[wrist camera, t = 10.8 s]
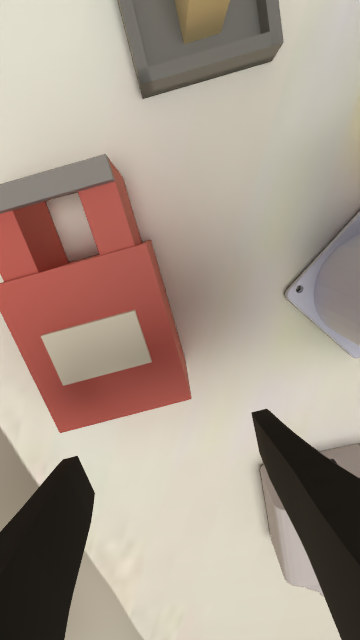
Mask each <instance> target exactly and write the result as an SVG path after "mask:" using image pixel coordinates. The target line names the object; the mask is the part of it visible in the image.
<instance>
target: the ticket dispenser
mask: <svg viewBox="0 0 360 640" xmlns="http://www.w3.org/2000/svg"><path fill="white" fill-rule="evenodd" d="M76 192H78V194H79V197H80V199H81V202H82V205H83V208H84V211H85V214H86V217H87V220H88V222H89V225H90V228H91V231H92V234H93V237H94V240H95V243H96V245H97V248H98V251H99V255H95V256H92V257H88V258H85V259H81V260H77V261H74V262H70V263H69V262H68V260H67V257H66V254H65V252H64V249H63V247H62V244H61V241H60V239H59V236H58V234H57V231H56V228H55V226H54V223H53V221H52V218H51V216H50V213H49V210H48V208H47V205H46V203H45V201H48V200H51V199H55V198H58V197H62V196H65V195H69V194H72V193H76ZM0 274H1V276H2V278H3V280H4V282H3V283H0V312H1V314H2V316H3V318H4V320H5V322H6V324H7V326H8V328H9V330H10V332H11V334H12V336H13V338H14V340H15V342H16V344H17V346H18V348H19V351H20V353H21V355H22V357H23V359H24V361H25V363H26V365H27V367H28V369H29V371H30V373H31V375H32V377H33V379H34V381H35V383H36V385H37V387H38V389H39V391H40V394H41V396H42V398H43V400H44V402H45V404H46V406H47V408H48V410H49V412H50V414H51V416H52V418H53V420H54V422H55V424H56V426H57V428H58V430H59V432H60V433H62V432H66V431H70V430H74V429H78V428H82V427H85V426H89V425H93V424H97V423H101V422H105V421H108V420H112V419H116V418H120V417H124V416H128V415H132V414H135V413H139V412H143V411H147V410H151V409H155V408H159V407H162V406H166V405H170V404H174V403H178V402H182V401H185V400H189V399H191V392H190V386H189V380H188V374H187V368H186V362H185V358H184V354H183V351H182V347H181V344H180V340H179V337H178V333H177V330H176V326H175V323H174V319H173V316H172V312H171V309H170V305H169V302H168V298H167V295H166V291H165V288H164V284H163V281H162V277H161V274H160V270H159V267H158V263H157V260H156V256H155V253H154V249H153V246H152V242H151V240H149V241H146V242H142V241H141V237H140V234H139V231H138V227H137V224H136V221H135V217H134V214H133V210H132V207H131V204H130V200H129V197H128V194H127V190H126V187H125V183H124V180H123V177H122V175H121V174H120V173H119V171H118V170H117V169H116V167H115V166H114V165H113V164H112V162H111V161H110V160H109V158H108V157H107V156H106V154H104V155H100V156H97V157H93V158H90V159H86V160H83V161H79V162H76V163H72V164H69V165H65V166H62V167H59V168H55V169H52V170H48V171H45V172H41V173H38V174H34V175H31V176H27V177H24V178H20V179H17V180H13V181H10V182H6V183H3V184H0Z"/></svg>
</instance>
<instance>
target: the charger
mask: <svg viewBox="0 0 360 640" xmlns="http://www.w3.org/2000/svg"><path fill="white" fill-rule="evenodd" d="M320 453H322V454H323V455H324V456H326V457H327V458H329V459H330V460H332V461H333V462H335V463H336V464H338V465H339V466H341V467H342V468H344V469H345V470H347V471H349V472H350V473H352V474H354V475H355V476H357V477H358V478H360V445H358V444H353V445H348V446H343V447H338V448H334V449H329V450H324V451H320ZM260 472H261V478H262V485H263V491H264V497H265V503H266V510H267V516H268V522H269V528H270V535H271V541H272V544H273V546H274V549H275V552H276V555H277V558H278V561H279V564H280V567H281V570H282V572H283V575H284V578H285V580H286V581H287V582H288V583H289V584H291V585H293V586H296V587H305V588H307V589H310V590H313V591H316V592H319V593H320V595H321V596H324V595H323V592H322V590H321V587H320V585H319V582H318V580H317V577H316V575H315V573H314V570H313V568H312V565H311V563H310V560H309V558H308V556H307V553H306V551H305V549H304V547H303V545H302V542H301V540H300V538H299V536H298V534H297V532H296V530H295V528H294V526H293V524H292V522H291V520H290V518H289V516H288V514H287V512H286V510H285V508H284V507H283V505H282V503H281V501H280V499H279V497H278V495H277V493H276V491H275V489H274V487H273V485H272V483H271V480H270V478H269V476H268V473H267V471H266V468H265V466H264V464H263V465H262V466H261V468H260Z"/></svg>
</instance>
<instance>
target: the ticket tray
mask: <svg viewBox="0 0 360 640" xmlns="http://www.w3.org/2000/svg"><path fill="white" fill-rule="evenodd" d="M118 4H119V8H120V12H121V16H122V20H123V24H124V27H125V31H126V35H127V39H128V43H129V47H130V51H131V55H132V59H133V63H134V67H135V71H136V74H137V78H138V82H139V86H140V90H141V94H142V98H143V99H144V98H147V97H150V96H154V95H157V94H161V93H164V92H168V91H171V90H174V89H178V88H181V87H185V86H188V85H191V84H195V83H198V82H202V81H205V80H209V79H212V78H215V77H219V76H222V75H226V74H229V73H232V72H236V71H239V70H243V69H246V68H250V67H253V66H256V65H260V64H263V63H267V62H270V61H272V60H273V58H274V57H275V55H276V54H277V52H278V50H279V49H280V47H281V46H282V44H283V35H282V26H281V18H280V9H279V0H230V2H229V5H228V9H227V12H226V16H225V19H224V23H223V26H222V30H221V33H219V34H216V35H213V36H209V37H206V38H203V39H200V40H196V41H193V42H190V43H187V44H184V42H183V37H182V32H181V28H180V23H179V18H178V14H177V9H176V4H175V0H118Z"/></svg>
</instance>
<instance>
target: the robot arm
mask: <svg viewBox="0 0 360 640" xmlns="http://www.w3.org/2000/svg"><path fill="white" fill-rule="evenodd" d="M298 286H301V289H300V291H298V292H296V288H297V287H298ZM285 296H286V298H287V300H289V301H290V302H291V303H292V304H293V305H294V306H295V307H296V308H298V309H299V310H300V311H301V312H302V313H303V314H304V315H305V316H307V317H308V318H309V319H310V320H311V321H312V322H313V323H314V324H316V325H317V326H318V327H319V328H320V329H321V330H322V331H323V332H325V333H326V334H327V335H328V336H329V337H330V338H331V339H333V340H334V341H335V342H336V343H337V344H338V345H339V346H340V347H342V348H343V349H344V350H345V351H346V352H347V353H348V354H349V355H351V356H352V357H354V358H359V357H360V211H359V212H358V213H357V214H356V215H355V216H354V217H353V219H352V220H351V221H350V222H349V223H348V224H347V225H346V226H345V227H344V228H343V229H342V231H341V232H340V233H339V234H338V235H337V236H336V237H335V238H334V239H333V240H332V241H331V242H330V244H329V245H328V246H327V247H326V248H325V249H324V250H323V251H322V252H321V253H320V254H319V256H318V257H317V258H316V259H315V260H314V261H313V262H312V263H311V264H310V265H309V266H308V267H307V269H306V270H305V271H304V272H303V273H302V274H301V275H300V276H299V277H298V278H297V279H296V281H295V282H294V283H293V284H292V285H291V286H290V287H289V288H288V289H287V291H286V293H285ZM252 418H253V423H254V427H255V432H256V437H257V442H258V447H259V452H260V455H261V458H262V460H263V463H264V466H265V468H266V471H267V473H268V476H269V478H270V480H271V483H272V485H273V487H274V489H275V491H276V493H277V495H278V497H279V499H280V501H281V503H282V505H283V507H284V508H285V510H286V512H287V514H288V516H289V518H290V520H291V522H292V524H293V526H294V528H295V530H296V532H297V534H298V536H299V538H300V540H301V542H302V545H303V547H304V549H305V551H306V553H307V556H308V558H309V560H310V563H311V565H312V568H313V570H314V573H315V575H316V577H317V580H318V582H319V585H320V587H321V590H322V592H323V595H324V597H325V599H326V602H327V604H328V607H329V609H330V612H331V614H332V617H333V619H334V622H335V624H336V627H337V629H338V632H339V634H340V637H341V639H342V640H360V478H358V477H357V476H355V475H354V474H352V473H350V472H349V471H347V470H345V469H344V468H342V467H341V466H339V465H338V464H336V463H335V462H333V461H332V460H330V459H329V458H327V457H326V456H324V455H323V454H322V453H320V452H319V451H317V450H316V449H315V448H313V447H312V446H311V445H309V444H308V443H307V442H305V441H304V440H303V439H302V438H300V437H299V436H298V435H296V434H295V433H294V432H293V431H292V430H290V429H289V428H288V427H287V426H286V425H285V424H283V423H282V422H281V421H280V420H279V419H278V418H277V417H276V416H275V415H274V414H272V413H271V412H270V411H269V410H268V409H264V410H260V411H256V412H252ZM94 495H95V493H94V490H93V488H92V486H91V484H90V482H89V480H88V477H87V475H86V473H85V471H84V469H83V467H82V465H81V462H80V460H79V458H78V456H75V457H71V458H67V459H63V460H62V461H61V462H60V463H59V464H58V466H57V467H56V468H55V469H54V470H53V471H52V473H51V474H50V475H49V476H48V477H47V479H46V480H45V481H44V482H43V483H42V485H41V486H40V487H39V488H38V489H37V491H36V492H35V493H34V494H33V495H32V496H31V498H30V499H29V500H28V501H27V502H26V504H25V505H24V506H23V507H22V508H21V509H20V511H19V512H18V513H17V514H16V515H15V516H14V517H13V518H12V520H11V521H10V522H9V523H8V524H7V525H6V526H5V527H4V528H3V530H2V531H1V532H0V640H64V638H65V632H66V626H67V620H68V615H69V609H70V605H71V600H72V596H73V591H74V587H75V584H76V579H77V576H78V572H79V568H80V564H81V560H82V556H83V552H84V548H85V544H86V540H87V536H88V532H89V528H90V524H91V518H92V512H93V504H94Z"/></svg>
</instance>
